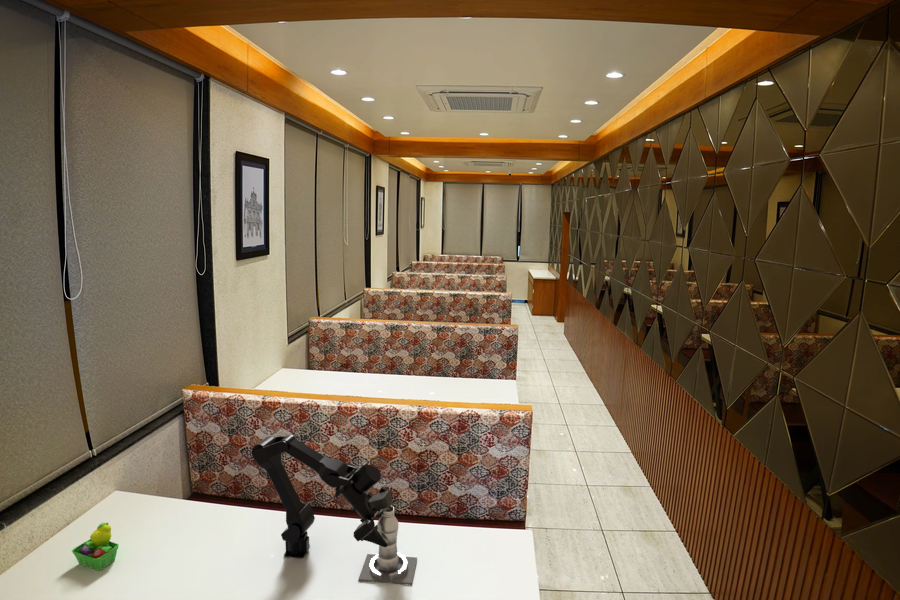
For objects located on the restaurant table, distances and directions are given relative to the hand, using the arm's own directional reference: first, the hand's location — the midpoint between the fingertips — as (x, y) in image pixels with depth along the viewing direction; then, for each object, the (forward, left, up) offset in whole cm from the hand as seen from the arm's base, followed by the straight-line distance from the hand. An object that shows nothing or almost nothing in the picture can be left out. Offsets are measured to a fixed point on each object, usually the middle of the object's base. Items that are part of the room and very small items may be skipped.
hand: (392, 537), depth 161 cm
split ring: (-1, 0, -11) cm, 11 cm away
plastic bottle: (-1, 0, -11) cm, 11 cm away
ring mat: (-1, 0, -11) cm, 11 cm away
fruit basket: (-91, -5, -12) cm, 92 cm away
